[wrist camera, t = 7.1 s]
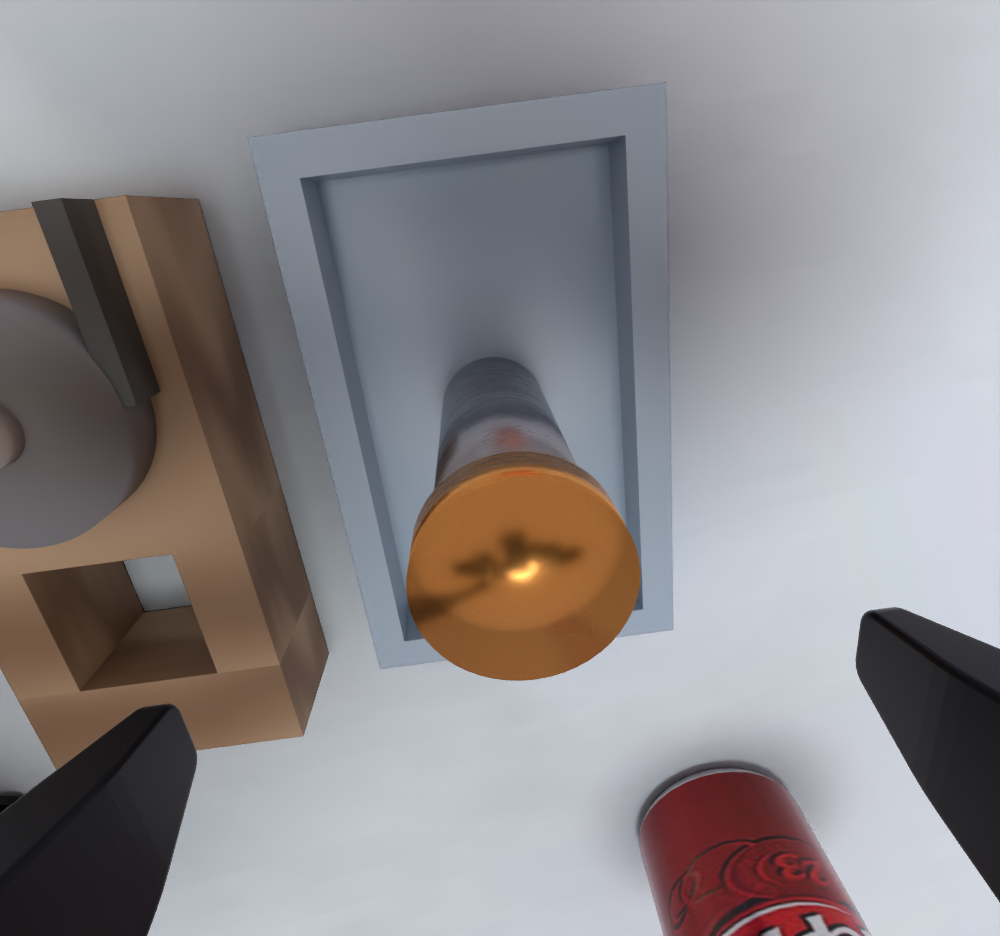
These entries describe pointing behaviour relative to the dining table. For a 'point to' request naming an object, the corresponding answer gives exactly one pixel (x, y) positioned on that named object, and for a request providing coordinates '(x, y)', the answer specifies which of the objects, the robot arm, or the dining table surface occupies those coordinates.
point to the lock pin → (515, 537)
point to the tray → (481, 308)
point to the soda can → (740, 862)
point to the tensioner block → (139, 486)
